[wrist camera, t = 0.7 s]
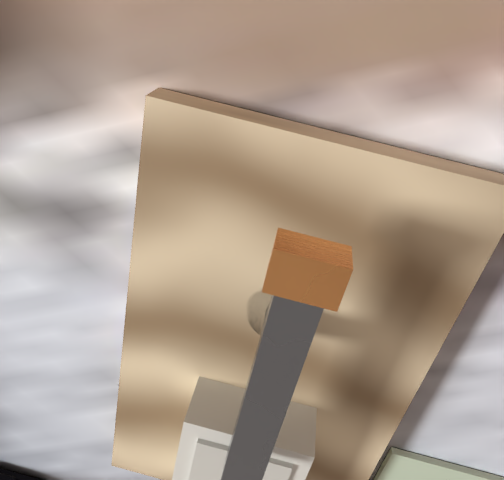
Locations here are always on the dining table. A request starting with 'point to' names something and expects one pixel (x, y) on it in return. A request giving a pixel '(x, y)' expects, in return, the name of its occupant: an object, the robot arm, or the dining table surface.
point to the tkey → (285, 342)
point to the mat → (425, 468)
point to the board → (256, 262)
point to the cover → (221, 429)
